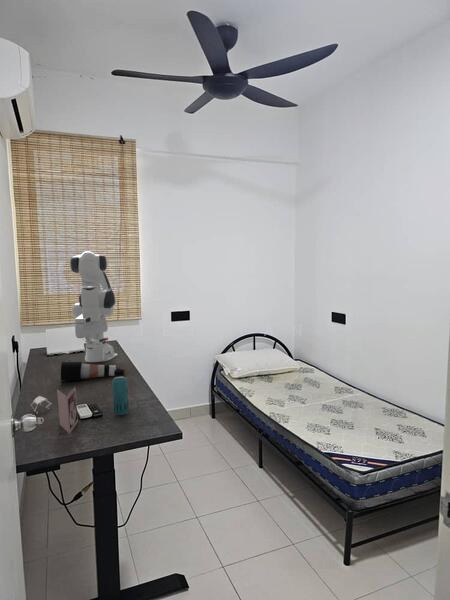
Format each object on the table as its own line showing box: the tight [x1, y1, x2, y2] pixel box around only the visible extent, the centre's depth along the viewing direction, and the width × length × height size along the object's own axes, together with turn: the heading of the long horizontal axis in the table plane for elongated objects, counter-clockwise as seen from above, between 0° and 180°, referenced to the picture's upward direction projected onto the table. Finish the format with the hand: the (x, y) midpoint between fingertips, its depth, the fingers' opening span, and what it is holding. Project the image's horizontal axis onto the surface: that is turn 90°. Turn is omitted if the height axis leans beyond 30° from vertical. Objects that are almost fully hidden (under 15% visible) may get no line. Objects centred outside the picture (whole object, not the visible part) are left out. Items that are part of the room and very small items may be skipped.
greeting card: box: [56, 386, 79, 434], centre depth 160 cm, size 11×7×15 cm, turn 5°
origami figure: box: [30, 395, 53, 415], centre depth 181 cm, size 12×8×5 cm
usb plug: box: [85, 339, 103, 348], centre depth 210 cm, size 10×4×4 cm, turn 66°
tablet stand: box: [45, 326, 86, 356], centre depth 290 cm, size 18×25×17 cm
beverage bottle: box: [111, 368, 130, 416], centre depth 170 cm, size 6×7×20 cm
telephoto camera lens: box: [60, 361, 126, 381], centre depth 226 cm, size 10×34×10 cm, turn 104°
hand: (93, 343), depth 210 cm, fingers closed on usb plug, 4 cm apart
